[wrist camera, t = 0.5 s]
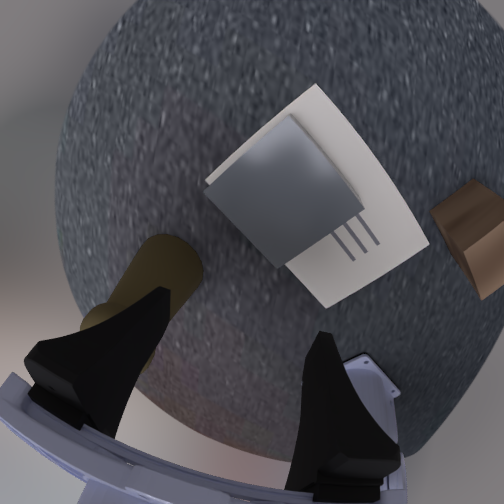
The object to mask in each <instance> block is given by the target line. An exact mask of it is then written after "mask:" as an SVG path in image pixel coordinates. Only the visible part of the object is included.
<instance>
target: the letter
mask: <svg viewBox="0 0 504 504" xmlns="http://www.w3.org/2000/svg"><path fill="white" fill-rule="evenodd" d="M290 114H292V115H293V116H294V117H295V118H296V119H297V120H298V122H299V123H300V124H301V125H302V126H303V127H304V128H305V129H306V131H307V132H308V133H309V134H310V135H311V136H312V138H313V139H314V140H315V141H316V142H317V143H318V145H319V146H320V147H321V148H322V149H323V151H324V152H325V153H326V154H327V155H328V157H329V158H330V159H331V160H332V162H333V163H334V164H335V165H336V167H337V168H338V169H339V170H340V172H341V173H342V174H343V175H344V177H345V178H346V179H347V181H348V182H349V183H350V185H351V186H352V187H353V189H354V190H355V191H356V193H357V194H358V195H359V197H360V199H361V201H362V204H363V206H364V208H365V209H364V210H363V211H361V212H360V213H358V214H357V215H356V216H354V217H353V218H351V219H350V220H348V221H347V222H346V223H344V224H343V225H341V226H340V227H338V228H337V229H336V230H334V231H333V232H331V233H330V234H328V235H327V236H325V237H324V238H323V239H321V240H320V241H318V242H317V243H315V244H314V245H312V246H311V247H309V248H308V249H306V250H305V251H303V252H302V253H301V254H299V255H298V256H296V257H295V258H293V259H292V260H290V261H289V262H287V263H286V264H285V265H286V266H287V267H288V268H289V269H290V270H291V271H292V273H293V274H294V275H295V276H296V277H297V278H298V279H299V280H300V281H301V282H302V283H303V284H304V285H305V287H306V288H307V289H308V290H309V291H310V292H311V293H312V294H313V295H314V296H315V297H316V298H317V299H318V301H319V302H320V303H321V304H322V305H323V306H324V307H325V308H328V307H330V306H332V305H333V304H335V303H337V302H339V301H340V300H342V299H344V298H346V297H347V296H349V295H351V294H352V293H354V292H356V291H357V290H359V289H361V288H362V287H364V286H366V285H367V284H369V283H371V282H372V281H374V280H376V279H377V278H379V277H380V276H382V275H384V274H385V273H387V272H388V271H390V270H391V269H393V268H395V267H396V266H398V265H399V264H401V263H402V262H404V261H405V260H407V259H408V258H410V257H411V256H413V255H414V254H416V253H417V252H419V251H420V250H422V249H423V248H425V247H426V246H428V245H429V242H428V240H427V238H426V236H425V235H424V233H423V231H422V229H421V227H420V226H419V224H418V222H417V221H416V219H415V217H414V215H413V214H412V212H411V210H410V209H409V207H408V205H407V204H406V202H405V201H404V199H403V197H402V196H401V194H400V193H399V191H398V190H397V188H396V186H395V185H394V183H393V182H392V180H391V179H390V177H389V176H388V174H387V173H386V171H385V170H384V169H383V167H382V166H381V164H380V163H379V161H378V160H377V159H376V157H375V156H374V154H373V153H372V152H371V150H370V149H369V148H368V146H367V145H366V144H365V142H364V141H363V140H362V138H361V137H360V136H359V134H358V133H357V132H356V130H355V129H354V128H353V127H352V125H351V124H350V123H349V122H348V120H347V119H346V118H345V117H344V116H343V114H342V113H341V112H340V111H339V109H338V108H337V107H336V106H335V105H334V104H333V102H332V101H331V100H330V99H329V98H328V97H327V96H326V94H325V93H324V92H323V91H322V90H321V89H320V88H319V87H318V85H317V84H314V85H313V86H312V87H311V88H309V89H308V90H307V91H305V92H304V93H303V94H302V95H300V96H299V97H298V98H297V99H296V100H294V101H293V102H292V103H291V104H289V105H288V106H287V107H286V108H285V109H283V110H282V111H281V112H280V113H279V114H277V115H276V116H275V117H274V118H273V119H271V120H270V121H269V122H268V123H267V124H266V125H264V126H263V127H262V128H261V129H260V130H259V131H258V132H256V133H255V134H254V135H253V136H252V137H251V138H250V139H248V140H247V141H246V142H245V143H244V144H243V145H242V146H241V147H240V148H238V149H237V150H236V151H235V152H234V153H233V154H232V155H231V156H230V157H229V158H228V159H227V160H225V161H224V162H223V163H222V164H221V165H220V166H219V167H218V168H217V169H216V170H215V171H214V172H213V173H212V174H211V175H210V176H209V177H208V178H206V179H205V181H206V182H207V183H208V184H209V185H210V184H211V183H212V182H214V181H215V180H216V179H217V178H218V177H219V176H220V175H221V174H222V173H223V172H224V171H225V170H226V169H227V168H229V167H230V166H231V165H232V164H233V163H234V162H235V161H236V160H237V159H238V158H240V157H241V156H242V155H243V154H244V153H245V152H246V151H247V150H249V149H250V148H251V147H252V146H253V145H254V144H255V143H256V142H258V141H259V140H260V139H261V138H262V137H263V136H265V135H266V134H267V133H268V132H269V131H270V130H272V129H273V128H274V127H275V126H276V125H277V124H279V123H280V122H281V121H282V120H283V119H285V118H286V117H287V116H288V115H290Z"/></svg>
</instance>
